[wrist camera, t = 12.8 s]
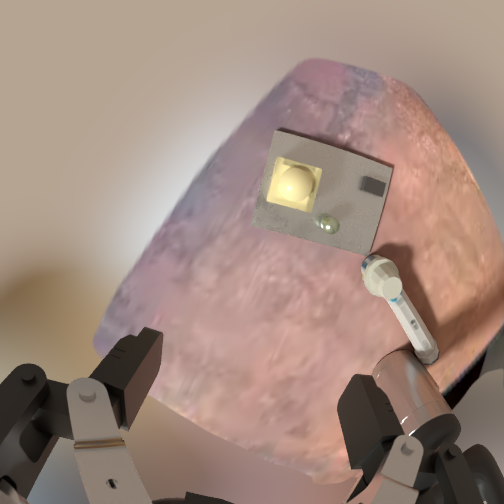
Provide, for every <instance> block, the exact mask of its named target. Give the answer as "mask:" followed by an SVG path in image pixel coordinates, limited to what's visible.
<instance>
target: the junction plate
mask: <svg viewBox="0 0 504 504" xmlns="http://www.w3.org/2000/svg"><path fill="white" fill-rule="evenodd" d="M277 157H281V158H285V159H289V160H293V161H296V162H300V163H303V164H307V165H310V166H314V167H317V168H320V169H323V170H322V174H321V177H320V181H319V185H318V189H317V193H316V196H315V200H314V204H313V207H312V211H311V213H309V212H305V211H302V210H298V209H295V208H291V207H287V206H283V205H280V204H276V203H272V202H268V201H267V199H266V198H267V194H268V190H269V186H270V182H271V178H272V174H273V170H274V166H275V162H276V159H277ZM392 170H393V168H390V167H388V166H385V165H383V164H380V163H378V162H375V161H373V160H370V159H367V158H365V157H362V156H359V155H356V154H354V153H351V152H348V151H345V150H342V149H339V148H336V147H333V146H330V145H327V144H323V143H320V142H317V141H314V140H310V139H307V138H303V137H300V136H296V135H292V134H289V133H285V132H281V131H277V130H275V131H274V135H273V139H272V143H271V147H270V151H269V155H268V159H267V163H266V167H265V171H264V175H263V179H262V183H261V187H260V191H259V195H258V198H257V202H256V206H255V210H254V215H253V219H252V223H251V226H255V227H259V228H263V229H267V230H271V231H275V232H279V233H283V234H286V235H290V236H294V237H298V238H302V239H306V240H309V241H313V242H317V243H320V244H324V245H328V246H332V247H335V248H339V249H343V250H346V251H350V252H353V253H357V254H360V255H364V256H368V255H369V252H370V249H371V246H372V243H373V240H374V236H375V233H376V230H377V227H378V223H379V220H380V216H381V213H382V209H383V206H384V202H385V198H386V194H387V190H388V186H389V182H390V178H391V174H392Z"/></svg>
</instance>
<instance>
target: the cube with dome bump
mask: <svg viewBox="0 0 504 504" xmlns="http://www.w3.org/2000/svg"><path fill="white" fill-rule="evenodd" d="M322 170H323V169H320V168H317V167H314V166H310V165H307V164H303V163H300V162H296V161H293V160H289V159H285V158H281V157H277V159H276V162H275V166H274V170H273V174H272V178H271V182H270V186H269V190H268V194H267V198H266V199H267V201H268V202H272V203H276V204H280V205H283V206H287V207H291V208H295V209H298V210H302V211H305V212H309V213H311V211H312V207H313V204H314V200H315V196H316V193H317V189H318V185H319V181H320V177H321V174H322Z"/></svg>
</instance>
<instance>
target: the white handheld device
mask: <svg viewBox="0 0 504 504" xmlns="http://www.w3.org/2000/svg"><path fill="white" fill-rule="evenodd" d="M361 271H362V279H363V280H364V285H365V286H366V287H367V289H368V290H369V291H370V293H371V294H373V295H376V296H378V297H383V298H385V299H386V300H387V302H388V304H389V305H390V307H391V308H392V310H393V312H394V313H395V315H396V317H397V319H398V320H399V322H400V324H401V325H402V327H403V329H404V331H405V332H406V334H407V336H408V338H409V339H410V341H411V343H412V345H413V347H414V349H415V351H414V352H415V354H416V355H417V357H418V358H419V359H421V360H422V362H423V363H424V365H432V364H433V363H434V362H435V361H436V360H438V357H439V350H438V348H437V341H436V340H435V339H434V338H433V337H432V336H431V334H430V332H429V331H428V329H427V327H426V326H425V324H424V322H423V320H422V319H421V317H420V315H419V314H418V312H417V311H416V309H415V307H414V306H413V304H412V302H411V301H410V299H409V298H408V296H407V295H406V293H405V291H404V290H403V288H402V281H401V279H400V277H399V270H398V269H397V267H396V265H395V264H394V262H393V261H391V260H389V259H387V258H385V257H381V256H379V255H371V256H369V257H368V258H367V259H365V260H364V261H363V264H362V266H361Z"/></svg>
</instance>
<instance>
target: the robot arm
mask: <svg viewBox="0 0 504 504" xmlns="http://www.w3.org/2000/svg"><path fill="white" fill-rule="evenodd" d="M162 344H163V333H162V332H159V331H156V330H153V329H150V328H147V327H144V328H143V329H142V331H141V332H140V333H139V335H138V336H137V337H136V336H133V335H128V336H126V337H124V338H122V339H120V340H119V341H118V342H117V343H116V345H115V346H114V348H112V349H111V351H110V352H109V353H108V355H106V357H105V358H104V359H103V360H102V361H101V363H100V364H99V365H98V367H97V368H96V369H95V370H94V371H93V373H92V374H91V375H90V376H89V377H88V378H79V379H76V380H74V381H73V382H71V383H70V384H65V383H61V382H57V381H52V380H49V379H47V377H46V374H45V372H44V370H43V369H42V368H40V367H39V366H37V365H35V364H22V365H20V366H18V367H16V368H15V369H14V370H13V371H12V372H11V373H10V374H9V375H8V377H7V378H6V379H5V380H4V381H3V382H2V383H1V384H0V504H30V503H29V502H28V501H27V500H26V499H27V497H28V495H29V493H30V491H31V489H32V487H33V485H34V483H35V481H36V479H37V477H38V475H39V473H40V472H41V470H42V468H43V466H44V464H45V462H46V460H47V458H48V457H49V455H50V453H51V451H52V449H53V448H54V446H55V444H56V442H57V441H58V439H59V437H63V438H67V439H71V440H74V441H75V444H74V452H75V456H76V460H77V464H78V468H79V471H80V475H81V478H82V481H83V485H84V488H85V491H86V494H87V497H88V500H89V502H90V504H233V503H231V502H228V501H225V500H223V499H218V498H213V497H208V496H203V495H199V494H194V493H190V492H186V496H185V498H164V499H158V500H153V501H151V499H150V498H149V496H148V494H147V492H146V490H145V488H144V486H143V484H142V481H141V479H140V477H139V475H138V472H137V470H136V468H135V466H134V463H133V461H132V459H131V456H130V454H129V451H128V449H127V446H126V444H125V442H124V440H122V437H121V435H120V432H119V429H120V428H122V429H124V430H126V431H129V429H130V427H131V425H132V423H133V421H134V419H135V417H136V415H137V413H138V411H139V409H140V407H141V405H142V403H143V401H144V399H145V398H146V395H147V394H148V392H149V390H150V388H151V386H152V384H153V382H154V380H155V378H156V376H157V374H158V372H159V369H160V365H161V355H162ZM337 412H338V416H339V420H340V424H341V428H342V432H343V436H344V440H345V444H346V448H347V453H348V457H349V461H350V466H351V470H352V469H362V470H363V473H362V474H361V475H360V476H359V477H358V479H357V481H356V482H355V484H354V485H353V487H352V489H351V490H350V492H349V493H348V495H347V496H346V498H345V499H344V501H343V502H342V504H484V503H483V501H486V502H487V504H504V477H503V475H502V473H501V471H500V469H499V467H498V465H497V463H496V461H495V459H494V457H493V456H492V454H491V453H490V452H489V450H488V449H487V448H486V447H484V446H483V445H480V444H476V445H474V446H472V447H470V448H469V449H467V450H466V451H465V452H463V453H462V451H461V449H460V448H459V447H458V446H457V445H455V444H454V443H455V441H456V440H457V438H458V436H459V435H460V432H461V426H460V423H459V421H458V419H457V418H456V416H455V415H454V413H453V412H452V410H451V408H450V407H449V405H448V404H447V402H446V401H445V399H444V398H443V396H442V395H441V393H440V392H439V386H438V385H437V383H436V382H435V381H434V379H433V378H432V376H431V375H430V373H429V372H428V371H427V369H426V368H425V366H424V365H423V364H422V362H421V361H420V360H419V358H416V357H415V356H414V354H413V353H412V352H410V351H408V350H399V351H395V352H393V353H390V354H389V355H387V356H386V357H384V358H383V359H382V360H381V361H380V362H379V363H378V364H377V365H376V367H375V369H374V371H373V374H372V376H371V375H361V374H355V375H354V376H353V377H352V378H351V380H350V382H349V384H348V385H347V387H346V389H345V390H344V392H343V394H342V395H341V397H340V399H339V401H338V406H337Z"/></svg>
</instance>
